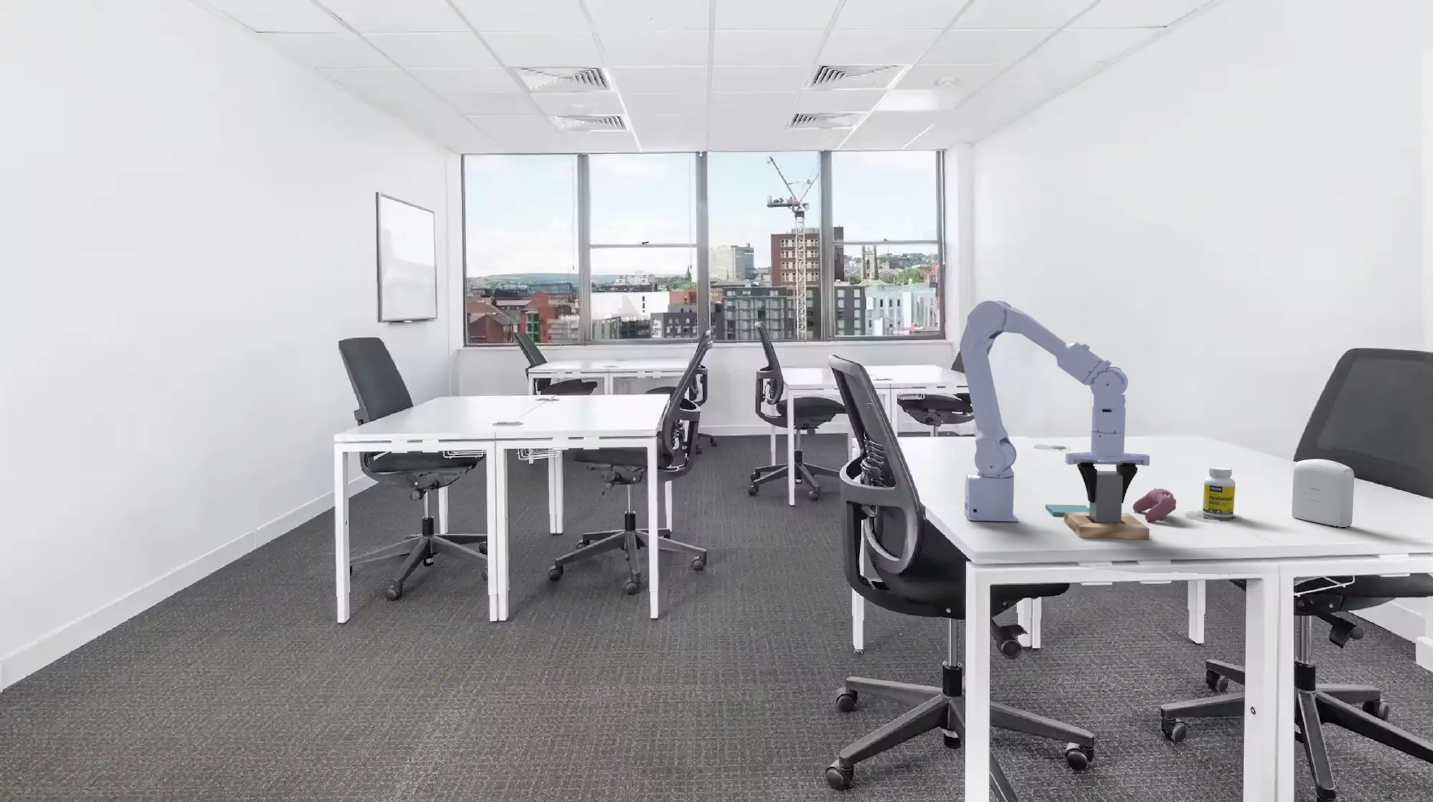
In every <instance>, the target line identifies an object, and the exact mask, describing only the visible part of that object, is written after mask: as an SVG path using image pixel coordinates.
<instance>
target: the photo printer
mask: <svg viewBox="0 0 1433 802" xmlns="http://www.w3.org/2000/svg"><path fill="white" fill-rule="evenodd" d="M1292 477H1293V480H1292V498H1291V502H1292V504H1291V516H1292V517H1293V518H1294V519H1298V520H1303V521H1308V522H1313V523H1318V524H1324V525H1327V526H1331V525H1332V526H1333V527H1336V526H1338V527H1337V528H1341V527H1346V528H1348V527H1347V526H1350V527H1351V525H1352V524H1353V516H1354V515H1353V514H1354V513H1353V510H1354V495H1355V494H1354V491H1355V472H1354V470H1353V469H1352V467H1349V466H1347V465H1346V464H1343V463H1340V462H1337V461H1333V460H1329V459H1321V458H1315V459H1314V458H1313V459H1303V460H1300V461H1297V462H1296V463H1295V465H1294V469H1293V476H1292Z"/></svg>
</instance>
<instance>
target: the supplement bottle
mask: <svg viewBox="0 0 1433 802" xmlns="http://www.w3.org/2000/svg"><path fill="white" fill-rule="evenodd" d="M1208 475H1209V476H1207V477H1205V479H1204V480H1203V481H1204V482H1203V498H1202V499H1203V500H1202V514H1204V515H1205V516H1208V517H1212V518H1220V519H1221V518H1232V517H1233V516H1234V510H1235V493H1236V492H1235V491H1236V482H1235V480H1234V479H1232V478H1231V477H1232V476H1233V469H1232V468H1231V467H1228V466H1221V465H1220V466H1214V465H1213V466H1212V465H1211V466H1209V467H1208Z"/></svg>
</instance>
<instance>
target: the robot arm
mask: <svg viewBox="0 0 1433 802" xmlns="http://www.w3.org/2000/svg"><path fill="white" fill-rule="evenodd" d="M1003 333H1008V334H1009V333H1010V334H1018V335H1019V334H1020V335H1022V336H1023V337H1025V338H1026V339H1028V340H1029V341H1031V342H1033V343H1034V344H1036V345H1037V346H1039V347H1040V348H1041V349H1044V350H1045V351H1047V352H1048V353H1050V354H1052V355H1053V356H1055V358H1056V363H1057V367H1058V368H1059V369H1061V370H1063V371H1064V372H1065V373H1067V374H1069V376H1071V377H1072V378H1074V379H1075V380H1077V381H1078V382H1080V383H1081V384H1083V385H1084V386H1089V387H1090V391H1091V393H1092V394H1093V406H1092V408H1091V411H1092V412H1091V431H1090V432H1091V436H1090V439H1091V440H1090V451H1089V452H1088V451H1087V452H1066V453H1065V464H1067V465H1076V467H1077V470H1078V471H1079V473H1080V475H1081V478H1082V480H1083V483H1084V487H1085V491H1086V494H1087V495H1086V496H1087V501H1088V502H1089V503H1090V502H1091V503H1095V482H1096V475H1097V471H1098V469H1097V468H1096V465H1110V466H1111V465H1113V466H1114V465H1115V468H1116V469H1115V471H1116V472H1118V473H1119V474H1121V475H1123V487H1122V504H1124V501H1125V499H1126V498H1125V497H1126V494H1127V491H1128V489H1129V487H1130V485H1131V483H1132V481H1133V480H1134V478H1135V476H1136V475H1137V473H1138V469H1139V468H1138V467H1137V466H1143V467H1144V466H1145V467H1146V466H1147V467H1150V464H1151V463H1150V462H1151V461H1150V460H1151V459H1150V457H1151V455H1149V454H1146V453H1130V452H1125V435H1126V432H1125V431H1126V411H1127V409H1126V402H1127V401H1126V394H1124V393H1125V392H1126V391H1127V389H1128V384H1129V379H1128V377H1127V375H1126V374H1125V372H1123V370H1122V369H1121V368H1120V367H1118V366H1111V365H1112V361H1110V360H1109V359H1106V360H1104V359H1102V358H1101V357H1100V356H1098V355H1097V354H1095V353H1093V351H1091V350H1090V348H1091V347H1090V346H1089V345H1088V344H1086V343H1083V344H1081V343H1079V342H1071V343H1067V342H1066V341H1065V340H1063V339H1061V338H1060V337H1059V336H1057V335H1056V334H1054V333H1053V332H1051V331H1050V329H1048V328H1046V327H1045V326H1044V325H1043V324H1041V323H1040V322H1038V320H1036V319H1035V318H1033V317H1032V316H1030V314H1028V313H1026V312H1024V311H1022V310H1021V309H1019V308H1017V307H1012V306H1011V304H1009V303H1008V302H1006V301H1002V300H995V301H993V300H984V301H981V302H979V303H978V304H977V305H975V307H974V308H973V309H972V310H971V311H970V312H969V314H968V315H967V320H966V324H965V327H964V331H963V333H962V336H961V339H960V342H959V350H960V351H959V352H960V357H961V361H962V364H963V371H964V375H965V380H966V384H967V388H968V394H969V399H970V402H971V407H972V412H973V418H974V421H975V426H976V435H975V441H974V442H975V447H976V451H975V453H974V454H975V455H974V465H975V467H976V468H977V470H976V473H973V474H971V473H969V474H966V475H965V484H964V487H965V489H964V491H965V492H964V494H965V495H964V511H963V512H964V513H965V515H966V517H967V519H968V520H969V521H978V522H979V521H981V522H983V521H984V522H987V521H988V522H1019V518H1018V517H1017V516H1016V515H1015V513H1014V498H1015V497H1014V495H1015V493H1014V491H1015V488H1014V487H1015V472H1014V471H1013V469H1012V466H1013V465H1014V464H1015V462H1016V460H1017V456H1018V455H1017V450H1016V447H1015V446H1014V444H1013V443H1012V442H1011V440H1010V438H1009V433H1008V432H1007V430H1006V428H1005V426H1004V425H1003V420H1002V416H1001V412H1000V406H999V402H998V397H997V392H996V387H995V383H994V379H993V375H992V370H991V365H990V364H991V363H990V359H989V355H988V349H989V348H990V346H991V345H992V344H993V342H994V341H995V340H996V338H997V337H998V336H1000V335H1002V334H1003Z"/></svg>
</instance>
